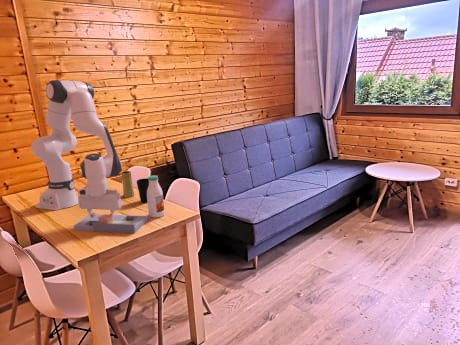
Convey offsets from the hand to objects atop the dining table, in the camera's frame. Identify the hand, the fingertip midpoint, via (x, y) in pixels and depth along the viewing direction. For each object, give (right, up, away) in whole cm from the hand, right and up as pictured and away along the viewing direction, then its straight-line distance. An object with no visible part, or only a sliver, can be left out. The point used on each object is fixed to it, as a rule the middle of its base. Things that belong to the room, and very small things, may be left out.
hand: (102, 217), depth 167 cm
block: (+3, -2, -3) cm, 5 cm away
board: (+5, -3, 0) cm, 6 cm away
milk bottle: (+24, 0, +9) cm, 25 cm away
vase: (+1, +7, +40) cm, 41 cm away
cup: (+13, +5, +30) cm, 33 cm away
